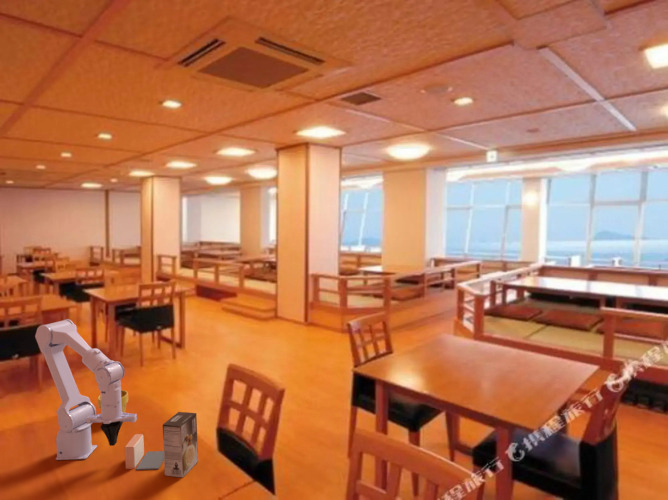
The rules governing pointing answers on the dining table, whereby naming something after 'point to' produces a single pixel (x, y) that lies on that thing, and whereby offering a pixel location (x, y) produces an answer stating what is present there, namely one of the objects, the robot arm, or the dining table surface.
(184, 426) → the coffee box
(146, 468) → the mat
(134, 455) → the pale pink block
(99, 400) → the plant pot
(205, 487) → the dining table surface
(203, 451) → the dining table surface
